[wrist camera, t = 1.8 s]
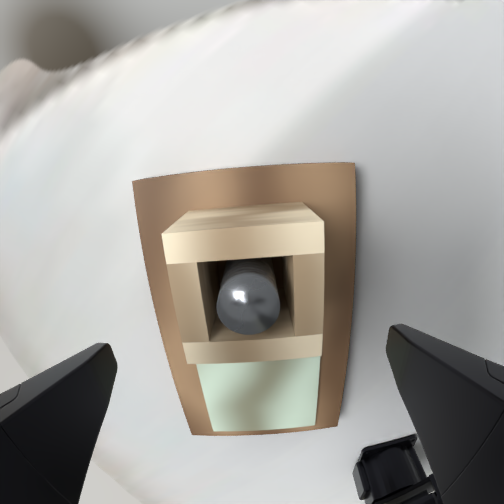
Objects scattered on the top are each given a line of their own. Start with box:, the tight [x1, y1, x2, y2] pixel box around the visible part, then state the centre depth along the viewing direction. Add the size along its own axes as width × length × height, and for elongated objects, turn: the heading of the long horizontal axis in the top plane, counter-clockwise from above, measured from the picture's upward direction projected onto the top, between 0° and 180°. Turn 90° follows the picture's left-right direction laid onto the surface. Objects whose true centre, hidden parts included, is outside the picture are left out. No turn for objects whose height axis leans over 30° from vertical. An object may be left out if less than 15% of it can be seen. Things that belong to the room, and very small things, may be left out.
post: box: [216, 257, 280, 335], centre depth 14 cm, size 2×2×6 cm
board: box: [132, 162, 356, 436], centre depth 18 cm, size 12×20×2 cm, turn 4°
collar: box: [162, 202, 324, 364], centre depth 14 cm, size 6×6×5 cm
